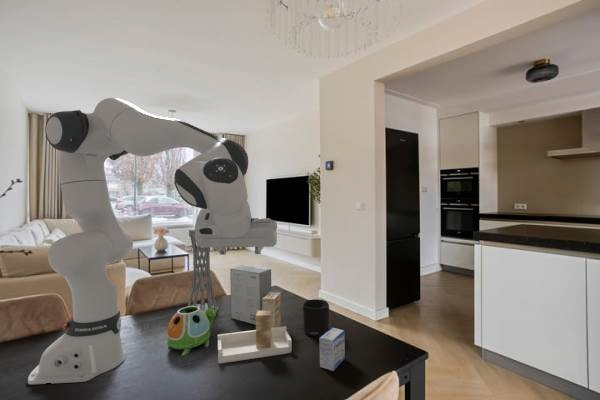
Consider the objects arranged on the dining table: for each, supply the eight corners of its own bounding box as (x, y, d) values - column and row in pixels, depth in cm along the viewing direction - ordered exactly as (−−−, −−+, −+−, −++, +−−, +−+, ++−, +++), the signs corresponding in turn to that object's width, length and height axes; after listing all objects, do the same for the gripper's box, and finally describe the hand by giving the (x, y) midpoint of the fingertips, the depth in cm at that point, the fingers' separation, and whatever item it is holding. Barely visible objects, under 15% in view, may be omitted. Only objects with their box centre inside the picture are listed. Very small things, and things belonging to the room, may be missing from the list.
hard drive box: (272, 319, 121) (272, 269, 121) (260, 326, 115) (259, 273, 114) (243, 311, 129) (242, 264, 129) (230, 318, 123) (229, 268, 123)
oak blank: (256, 347, 95) (255, 315, 95) (257, 341, 99) (257, 310, 99) (270, 347, 95) (270, 315, 95) (271, 341, 99) (271, 310, 99)
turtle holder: (228, 336, 107) (227, 302, 107) (184, 360, 92) (183, 320, 91) (203, 328, 114) (203, 296, 113) (158, 349, 98) (158, 312, 98)
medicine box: (333, 372, 85) (333, 340, 85) (319, 367, 87) (319, 337, 87) (345, 359, 92) (345, 330, 92) (331, 355, 94) (331, 326, 94)
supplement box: (275, 336, 107) (275, 298, 106) (262, 335, 108) (261, 298, 107) (281, 326, 115) (281, 291, 115) (269, 325, 116) (268, 290, 115)
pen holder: (297, 331, 111) (297, 303, 111) (316, 323, 117) (316, 297, 117) (315, 340, 104) (315, 310, 104) (334, 332, 110) (334, 304, 110)
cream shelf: (218, 363, 90) (218, 346, 90) (217, 350, 97) (217, 334, 97) (291, 352, 96) (291, 336, 96) (285, 340, 103) (285, 326, 103)
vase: (194, 304, 138) (193, 226, 138) (223, 306, 136) (222, 227, 136) (178, 316, 125) (177, 230, 124) (210, 318, 123) (209, 230, 122)
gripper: (276, 209, 76) (279, 242, 86) (193, 209, 76) (205, 243, 86) (275, 229, 72) (278, 261, 82) (187, 230, 71) (201, 262, 81)
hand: (240, 252), depth 84 cm, fingers open, 8 cm apart
